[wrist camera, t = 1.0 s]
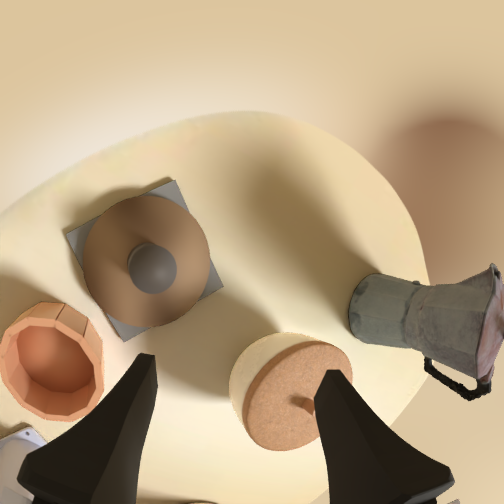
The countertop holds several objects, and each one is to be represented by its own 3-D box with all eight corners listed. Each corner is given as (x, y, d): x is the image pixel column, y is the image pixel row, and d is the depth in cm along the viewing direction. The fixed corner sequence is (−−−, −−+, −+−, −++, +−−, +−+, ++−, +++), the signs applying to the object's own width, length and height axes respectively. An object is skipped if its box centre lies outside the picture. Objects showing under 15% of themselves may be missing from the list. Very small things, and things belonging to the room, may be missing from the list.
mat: (123, 340, 23) (123, 342, 23) (66, 234, 21) (65, 234, 20) (221, 285, 27) (223, 286, 26) (173, 180, 24) (175, 179, 24)
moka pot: (388, 240, 36) (534, 252, 18) (397, 341, 39) (515, 380, 21) (336, 264, 32) (513, 294, 14) (352, 375, 35) (481, 437, 17)
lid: (123, 345, 23) (126, 369, 18) (62, 233, 20) (50, 234, 16) (226, 287, 26) (249, 298, 22) (176, 176, 24) (190, 165, 19)
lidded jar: (191, 389, 26) (228, 448, 18) (254, 298, 28) (315, 327, 20) (268, 421, 30) (316, 468, 22) (321, 346, 32) (382, 376, 24)
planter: (51, 406, 20) (45, 434, 16) (-3, 328, 18) (-21, 346, 14) (121, 369, 23) (124, 395, 19) (69, 284, 21) (60, 296, 17)
